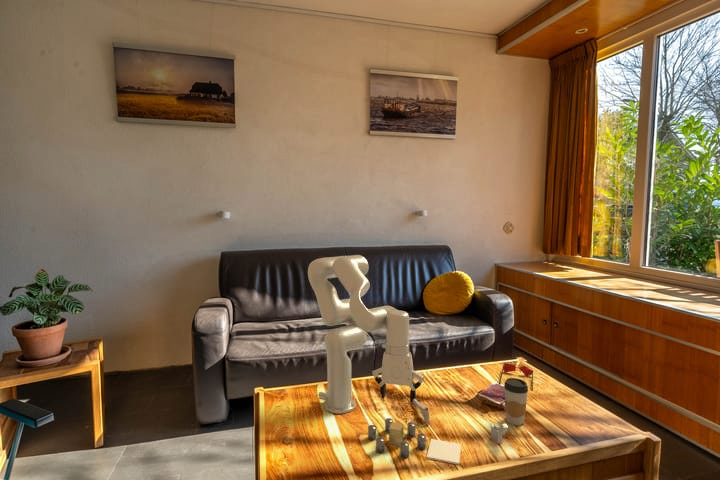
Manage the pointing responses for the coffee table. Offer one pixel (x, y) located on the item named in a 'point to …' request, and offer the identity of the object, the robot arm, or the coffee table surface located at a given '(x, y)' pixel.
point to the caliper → (423, 411)
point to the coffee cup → (515, 400)
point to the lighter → (498, 432)
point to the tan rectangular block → (395, 434)
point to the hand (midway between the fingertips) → (397, 398)
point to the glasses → (524, 369)
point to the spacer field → (403, 445)
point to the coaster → (444, 451)
